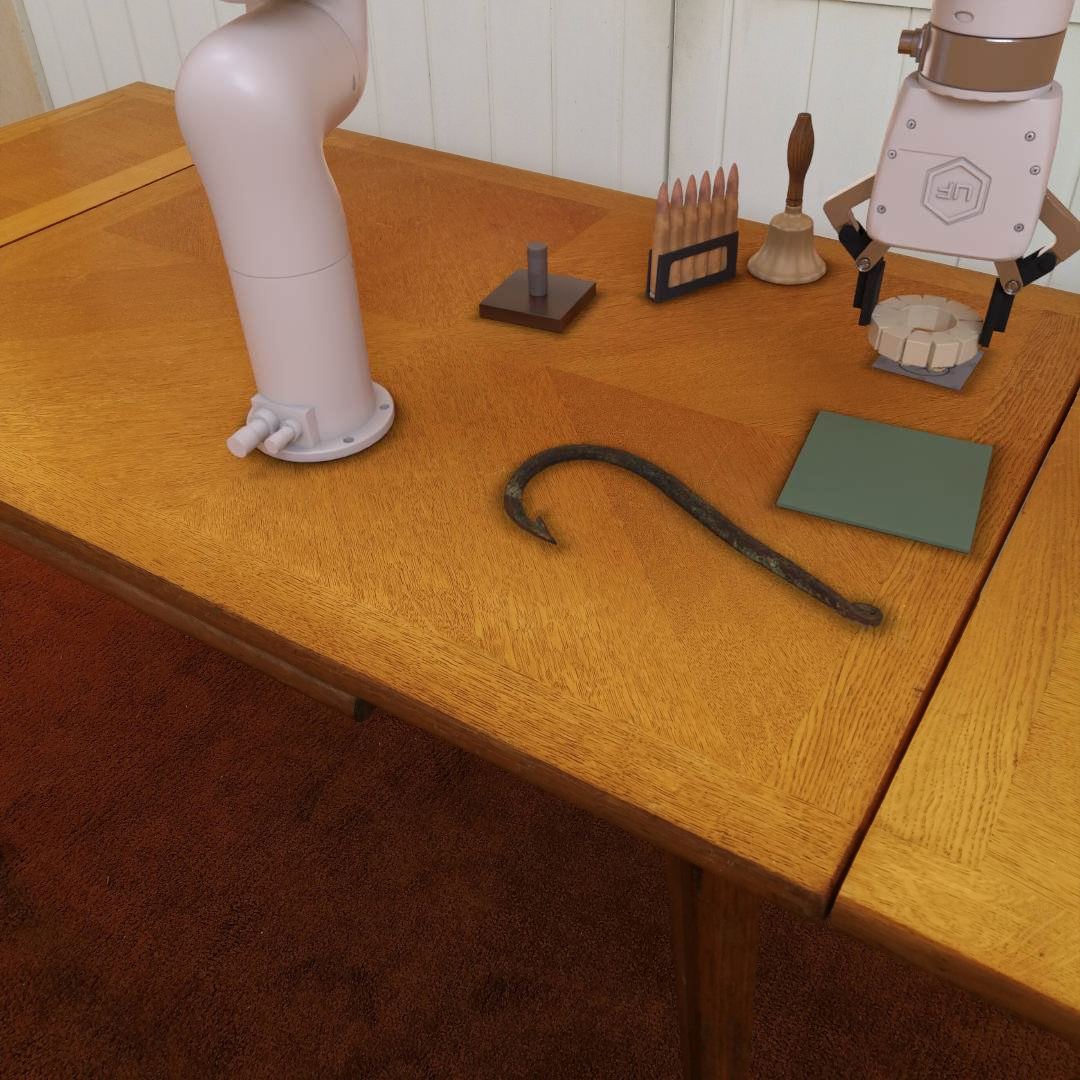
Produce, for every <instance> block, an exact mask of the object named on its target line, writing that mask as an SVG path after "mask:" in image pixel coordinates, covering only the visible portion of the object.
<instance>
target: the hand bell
mask: <svg viewBox="0 0 1080 1080" xmlns="http://www.w3.org/2000/svg"><path fill="white" fill-rule="evenodd" d="M815 140H816V139H815V132H814V127H813V119H812V114H811V113H809V112H799V113H798V114H797V117H796V120H795V122H794V125H793V127H792V130H791V132H790V134H789V138H788V142H787V149H786V163H787V171H788V185H787V192H786V198H785V207H784V211H783V212H780V213H777V214H775V215H774V216H773V217H772V218H771V219H770V221H769V222H770V223H769V226H768V229H767V234H766V237H765V239H764V242H763V244H762V246H761V247H760V249H759V250H758V251H757V252H755V253H754V254H753V255H751V257H750V258H749V260H748V262H747V264H746V265H747V267H746V268H747V270H748V271H749V273H750V274H751V275H752V276H754V277H755V278H757V279H759V280H761V281H764V282H767V283H772V284H777V285H785V286H786V285H787V286H795V285H796V286H797V285H804V284H810V283H813V282H815V281H818V280H819V279H821V278H822V277H823V276H825V274H826V272H827V266H826V263H825V261H824V259H823V258H822V257H821V256H820V255H819V253H818V251H817V249H816V245H815V236H814V233H815V232H814V227H815V226H814V225H815V222H814V219H813V218H812V217H811V216H810V215H808V214H806V213H804V212H803V203H804V199H803V198H804V191H805V190H804V188H805V180H806V176H807V173H808V171H809V169H810V167H811V164H812V161H813V156H814V150H815Z"/></svg>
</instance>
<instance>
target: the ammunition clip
mask: <svg viewBox="0 0 1080 1080" xmlns="http://www.w3.org/2000/svg"><path fill="white" fill-rule="evenodd" d="M725 179H726V178H725V172H724V168H723V167H722V166H718V169H717V171H716V174H715V177H714V180H713V186H712V185H711V184H712V183H711V177H710V174H709V170H705V171H704V173H703V174H702V177H701V179H700V183H699V189H698V186H697V180H696V177H695V175H694V174H693V173H692V174H691V175H690V176H689V179H688V181H687V184H686V188H685V194H684V191H683V186H682V181H681V179H680V178H679V177H678V178H677V179H675V182H674V185H673V188H672V191H671V196H670V197H671V198H670V199H669V191H668V187H667V184H666V182H665V181H663V182H662V183H661V185H660V187H659V191H658V194H657V198H656V199H657V201H656V208H655V215H654V216H655V218H654V222H653V226H652V243H651V244H652V245H651V248H650V249H649V250H648V262H647V263H648V264H647V273H646V274H647V275H646V284H645V285H646V286H645V287H646V288H645V297H647V298H648V299H649V300H651V301H653V302H654V303H657V304H659V303H662V302H666V301H668V300H671V299H674V298H677V297H680V296H683V295H686V294H688V293H689V294H690V293H693V292H695V291H698V290H699V291H700V290H702V289H704V288H708V287H710V286H713V285H717V284H720V283H723V282H725V281H728V280H731V279H734V278H737V266H738V252H739V251H738V250H739V239H740V238H739V237H740V231H739V230H737V227H738V217H739V216H738V215H739V209H740V208H739V184H740V183H739V181H740V176H739V169H738V165H737V162H733V164H732V165H731V167H730V170H729V173H728V176H727V180H725Z"/></svg>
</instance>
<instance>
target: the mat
mask: <svg viewBox="0 0 1080 1080" xmlns="http://www.w3.org/2000/svg"><path fill="white" fill-rule="evenodd" d="M993 450H994V446H993V445H987V444H983V443H978V442H974V441H970V440H969V441H968V440H964V439H959V438H955V437H949V436H945V435H940V434H936V433H930V432H925V431H921V430H918V429H917V430H916V429H911V428H907V427H902V426H897V425H893V424H887V423H883V422H878V421H873V420H870V419H869V420H868V419H864V418H860V417H854V416H851V415H846V414H842V413H841V414H840V413H837V412H836V413H835V412H831V411H827V410H822V409H820V410H819V412H818V414H817V416H816V418H815V421H814V423H813V424H812V427H811V429H810V431H809V433H808V435H807V437H806V439H805V441H804V444H803V446H802V448H801V450H800V452H799V454H798V457H797V458H796V461H795V463H794V465H793V467H792V469H791V471H790V473H789V475H788V478H787V479H786V482H785V483H784V486H783V488H782V490H781V492H780V494H779V497H778V499H777V501H776V504H775V505H776V507H780V508H783V509H788V510H791V511H795V512H800V513H802V514H803V513H804V514H808V515H811V516H816V517H820V518H824V519H828V520H832V521H836V522H840V523H844V524H847V525H852V526H855V527H860V528H864V529H869V530H873V531H877V532H880V533H884V534H888V535H891V536H892V535H893V536H896V537H901V538H904V539H909V540H911V541H912V540H913V541H916V542H920V543H924V544H928V545H932V546H936V547H940V548H945V549H948V550H953V551H956V552H960V553H965V554H970V551H971V548H972V544H973V540H974V535H975V531H976V526H977V521H978V516H979V513H980V508H981V505H982V499H983V495H984V491H985V485H986V481H987V477H988V473H989V467H990V463H991V459H992V455H993Z"/></svg>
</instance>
